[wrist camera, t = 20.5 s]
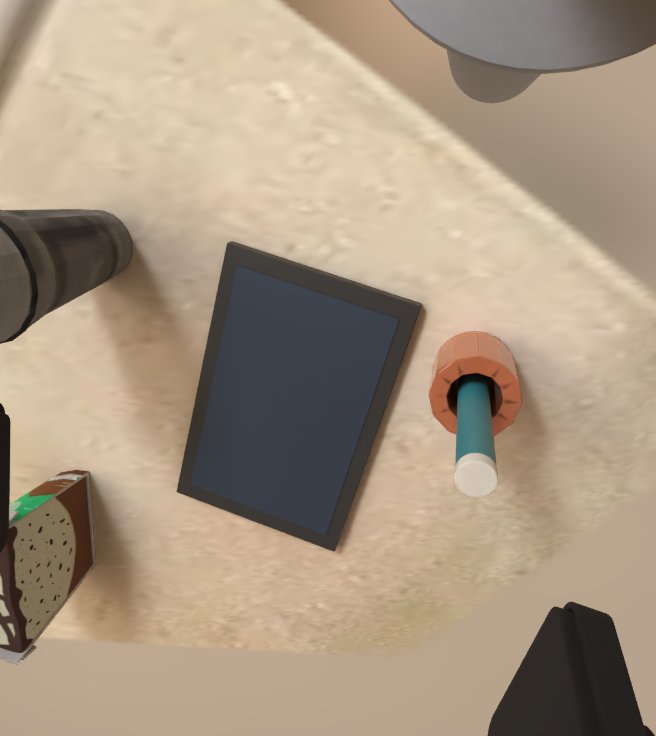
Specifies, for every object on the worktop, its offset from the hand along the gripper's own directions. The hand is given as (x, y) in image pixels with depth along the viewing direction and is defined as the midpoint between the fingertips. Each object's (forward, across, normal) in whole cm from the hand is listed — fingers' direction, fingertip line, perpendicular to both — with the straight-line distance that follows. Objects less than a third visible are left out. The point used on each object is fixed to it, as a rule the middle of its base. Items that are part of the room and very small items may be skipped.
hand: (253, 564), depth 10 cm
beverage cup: (+29, +20, +6) cm, 36 cm away
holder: (+29, -6, +6) cm, 30 cm away
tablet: (+29, +5, +13) cm, 32 cm away
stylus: (+28, -6, +6) cm, 30 cm away
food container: (+28, +22, +29) cm, 47 cm away
